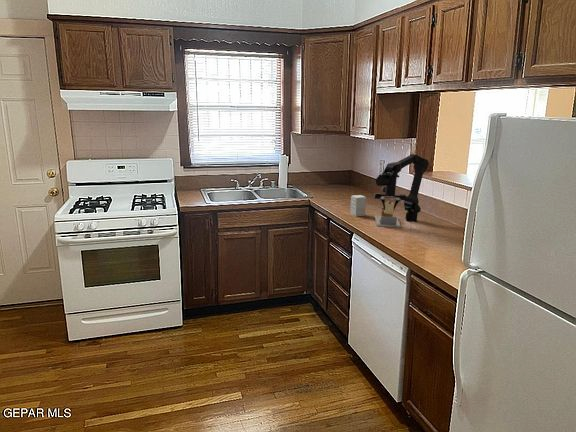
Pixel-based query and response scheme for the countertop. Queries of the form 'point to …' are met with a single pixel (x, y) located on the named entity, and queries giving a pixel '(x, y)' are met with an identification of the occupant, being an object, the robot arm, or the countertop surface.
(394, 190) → the robot arm
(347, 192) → the countertop surface
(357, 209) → the supplement box
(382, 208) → the press ram
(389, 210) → the housing
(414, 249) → the countertop surface
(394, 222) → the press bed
